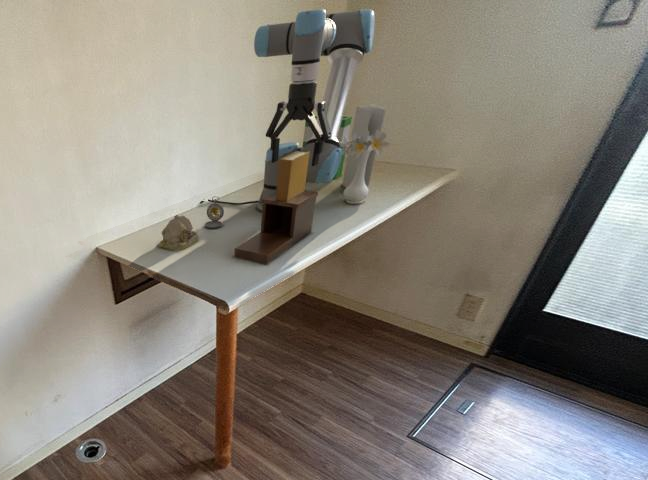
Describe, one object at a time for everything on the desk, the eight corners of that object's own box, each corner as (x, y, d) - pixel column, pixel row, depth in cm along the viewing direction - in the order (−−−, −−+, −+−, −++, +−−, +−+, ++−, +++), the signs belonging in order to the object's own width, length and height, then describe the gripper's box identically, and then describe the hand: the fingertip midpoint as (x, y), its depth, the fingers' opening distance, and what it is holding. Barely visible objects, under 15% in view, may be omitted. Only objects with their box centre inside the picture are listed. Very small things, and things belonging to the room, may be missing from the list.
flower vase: (338, 194, 175) (351, 126, 160) (382, 201, 164) (401, 128, 148) (322, 202, 169) (333, 133, 154) (366, 210, 158) (383, 136, 142)
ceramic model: (172, 253, 144) (171, 224, 138) (153, 245, 151) (151, 217, 145) (203, 241, 150) (202, 213, 143) (183, 233, 157) (182, 206, 151)
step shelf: (233, 256, 137) (235, 213, 128) (279, 227, 153) (283, 187, 144) (267, 264, 130) (271, 220, 121) (311, 233, 146) (318, 191, 137)
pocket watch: (208, 230, 157) (208, 203, 151) (200, 223, 164) (200, 197, 157) (228, 226, 158) (229, 199, 152) (219, 220, 165) (220, 193, 159)
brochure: (367, 192, 173) (386, 108, 154) (353, 193, 174) (371, 110, 155) (354, 183, 184) (371, 104, 166) (342, 184, 185) (356, 105, 166)
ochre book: (275, 199, 135) (279, 159, 127) (293, 189, 141) (297, 150, 134) (286, 201, 132) (291, 160, 125) (304, 191, 139) (309, 151, 131)
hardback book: (298, 176, 202) (305, 119, 187) (305, 172, 206) (312, 116, 191) (335, 179, 192) (345, 119, 177) (341, 175, 196) (352, 116, 181)
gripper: (257, 85, 123) (253, 163, 136) (341, 82, 108) (327, 169, 122) (270, 81, 127) (265, 157, 140) (353, 78, 112) (338, 163, 126)
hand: (294, 163), depth 131 cm, fingers open, 13 cm apart
